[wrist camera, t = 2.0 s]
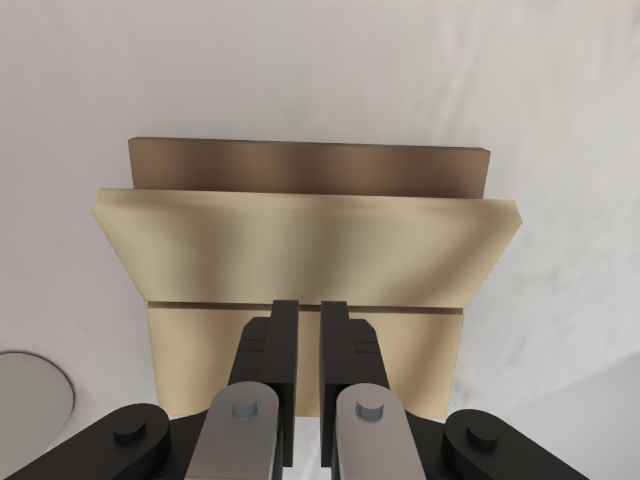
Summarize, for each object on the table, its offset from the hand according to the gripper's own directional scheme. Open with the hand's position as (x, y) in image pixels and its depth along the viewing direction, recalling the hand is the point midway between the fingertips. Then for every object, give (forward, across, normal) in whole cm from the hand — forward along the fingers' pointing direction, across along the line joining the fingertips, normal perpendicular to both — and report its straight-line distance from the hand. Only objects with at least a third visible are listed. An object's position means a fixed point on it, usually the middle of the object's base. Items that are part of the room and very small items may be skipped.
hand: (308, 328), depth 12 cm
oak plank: (+13, 0, +2) cm, 13 cm away
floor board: (+17, 0, +7) cm, 18 cm away
